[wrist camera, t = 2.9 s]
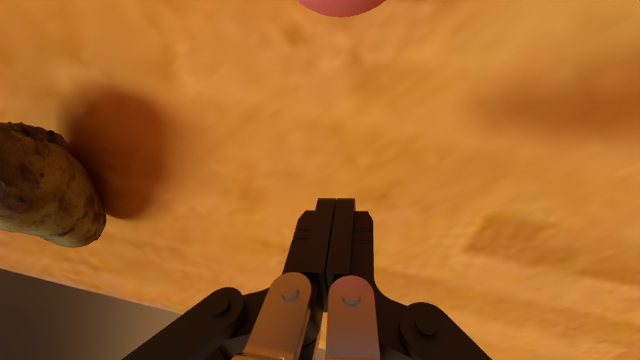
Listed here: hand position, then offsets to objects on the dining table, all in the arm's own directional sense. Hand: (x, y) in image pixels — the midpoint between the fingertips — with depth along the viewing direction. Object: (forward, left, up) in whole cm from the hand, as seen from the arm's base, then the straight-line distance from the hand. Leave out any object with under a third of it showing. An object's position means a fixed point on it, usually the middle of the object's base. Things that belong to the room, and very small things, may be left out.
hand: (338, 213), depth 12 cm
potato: (+23, +2, -8) cm, 25 cm away
